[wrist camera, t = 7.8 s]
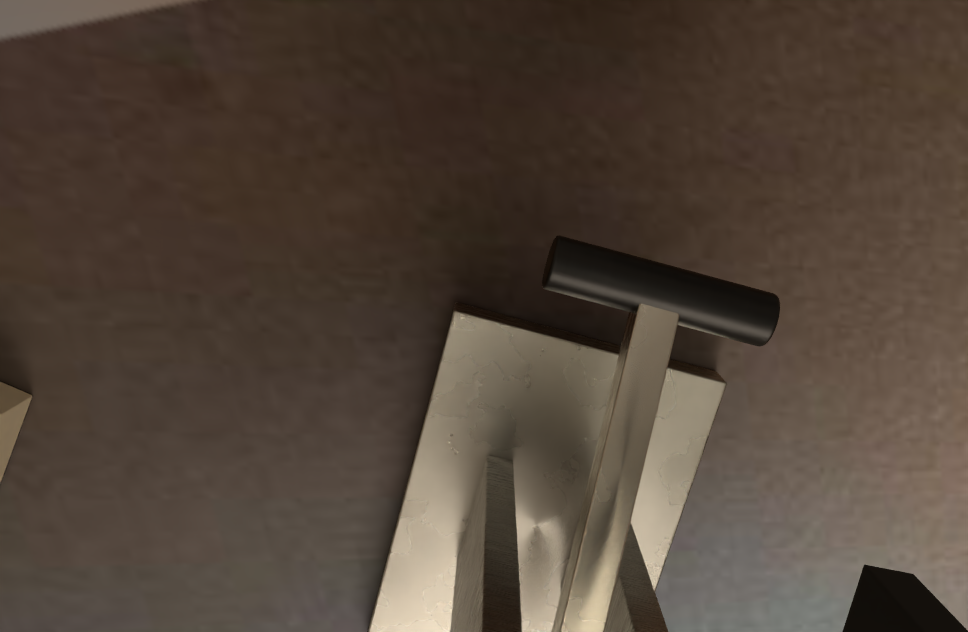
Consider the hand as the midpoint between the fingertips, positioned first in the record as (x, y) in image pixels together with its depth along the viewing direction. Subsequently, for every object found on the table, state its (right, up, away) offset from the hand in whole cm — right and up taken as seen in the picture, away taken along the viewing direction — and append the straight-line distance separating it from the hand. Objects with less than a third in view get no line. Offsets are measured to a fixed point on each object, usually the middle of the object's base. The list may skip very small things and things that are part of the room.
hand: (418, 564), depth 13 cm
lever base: (+3, -4, +20) cm, 21 cm away
